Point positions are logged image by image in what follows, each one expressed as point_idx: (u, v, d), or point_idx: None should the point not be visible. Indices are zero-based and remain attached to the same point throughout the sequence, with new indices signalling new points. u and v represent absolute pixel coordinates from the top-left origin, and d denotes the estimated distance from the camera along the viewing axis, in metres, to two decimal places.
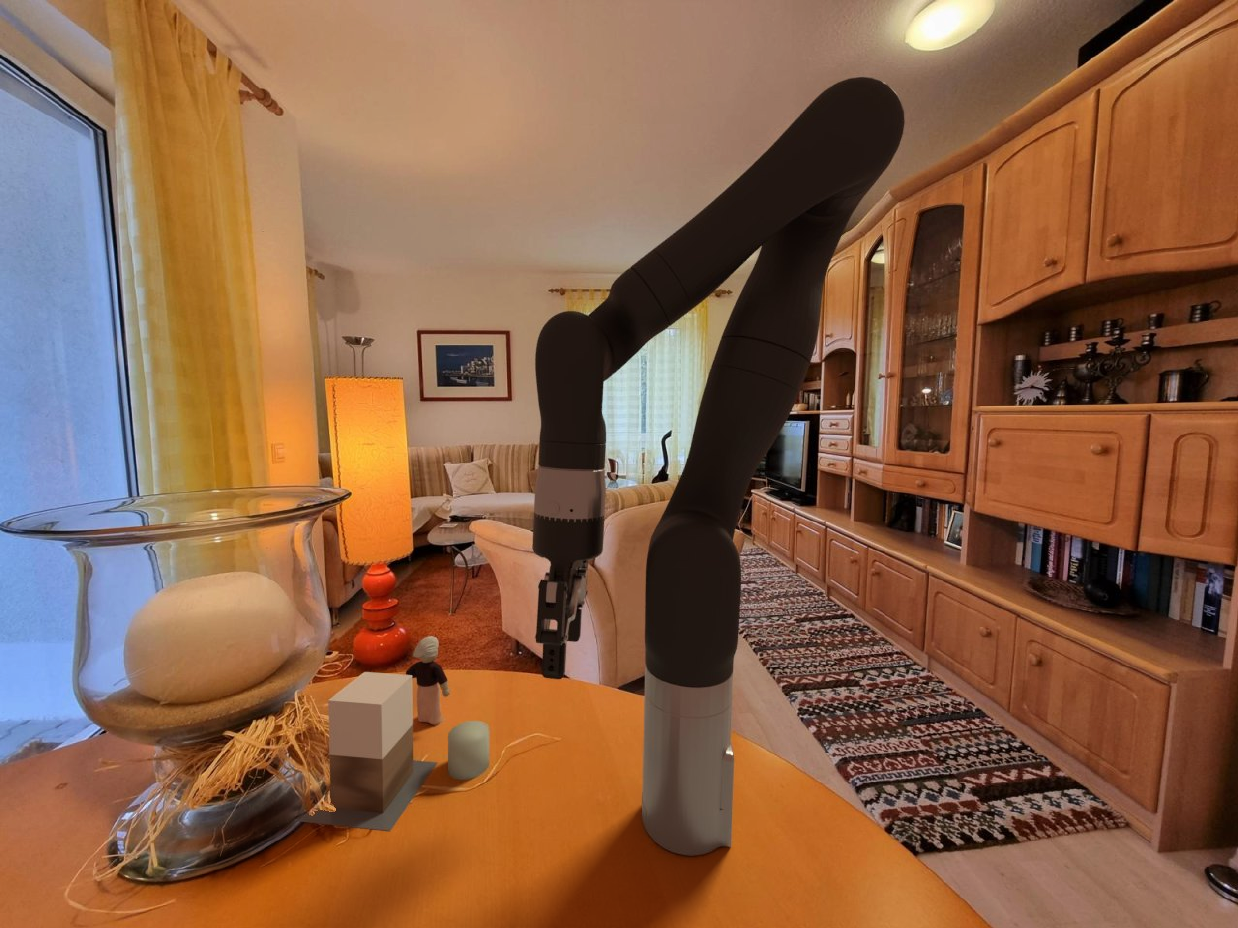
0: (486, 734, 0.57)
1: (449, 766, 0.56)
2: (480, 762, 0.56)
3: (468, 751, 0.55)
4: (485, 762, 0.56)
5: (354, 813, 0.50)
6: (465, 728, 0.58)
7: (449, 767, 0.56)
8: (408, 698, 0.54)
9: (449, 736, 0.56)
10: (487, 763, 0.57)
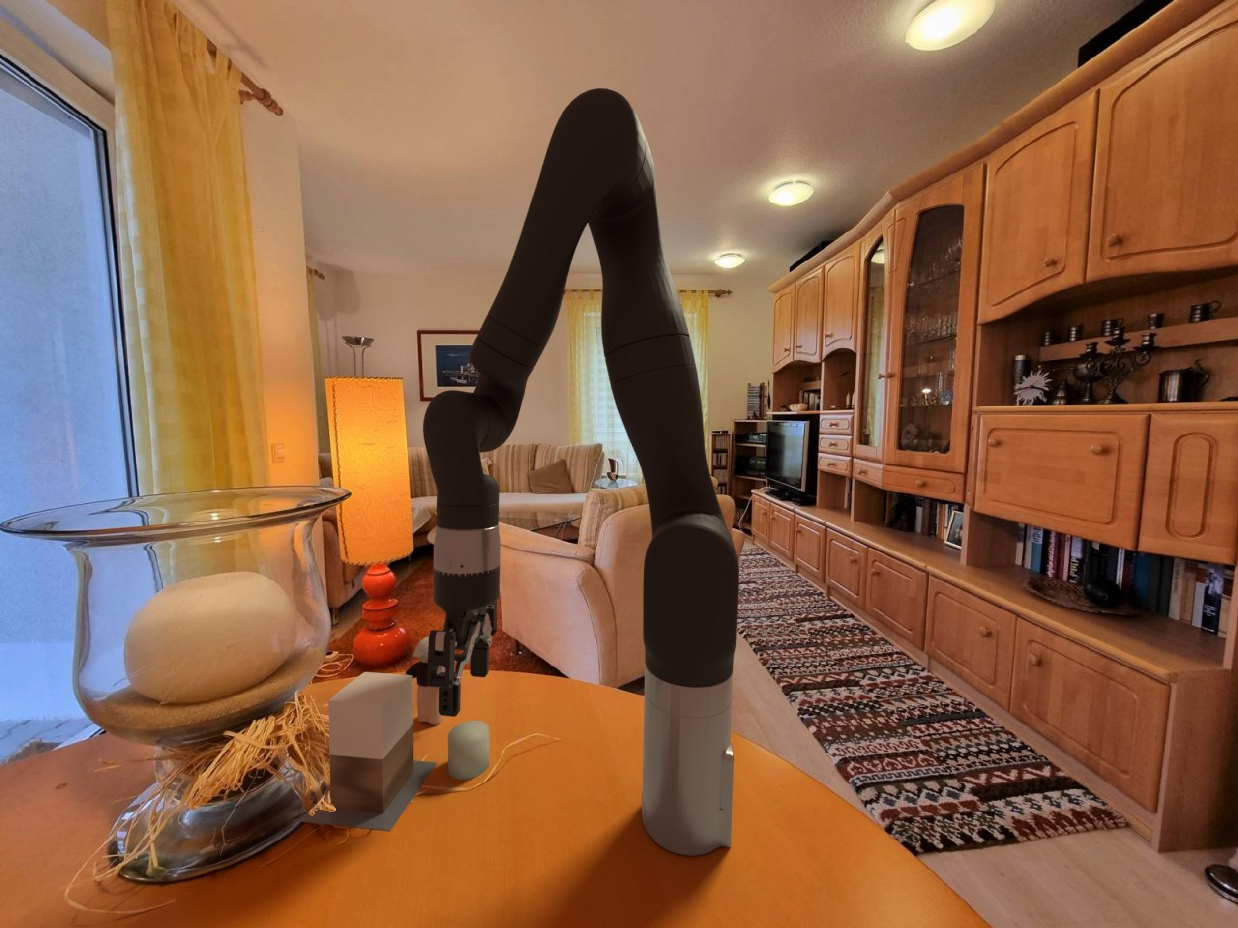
0: (486, 734, 0.57)
1: (449, 766, 0.56)
2: (480, 762, 0.56)
3: (468, 751, 0.55)
4: (485, 762, 0.56)
5: (354, 813, 0.50)
6: (465, 728, 0.58)
7: (449, 767, 0.56)
8: (408, 698, 0.54)
9: (449, 736, 0.56)
10: (487, 763, 0.57)
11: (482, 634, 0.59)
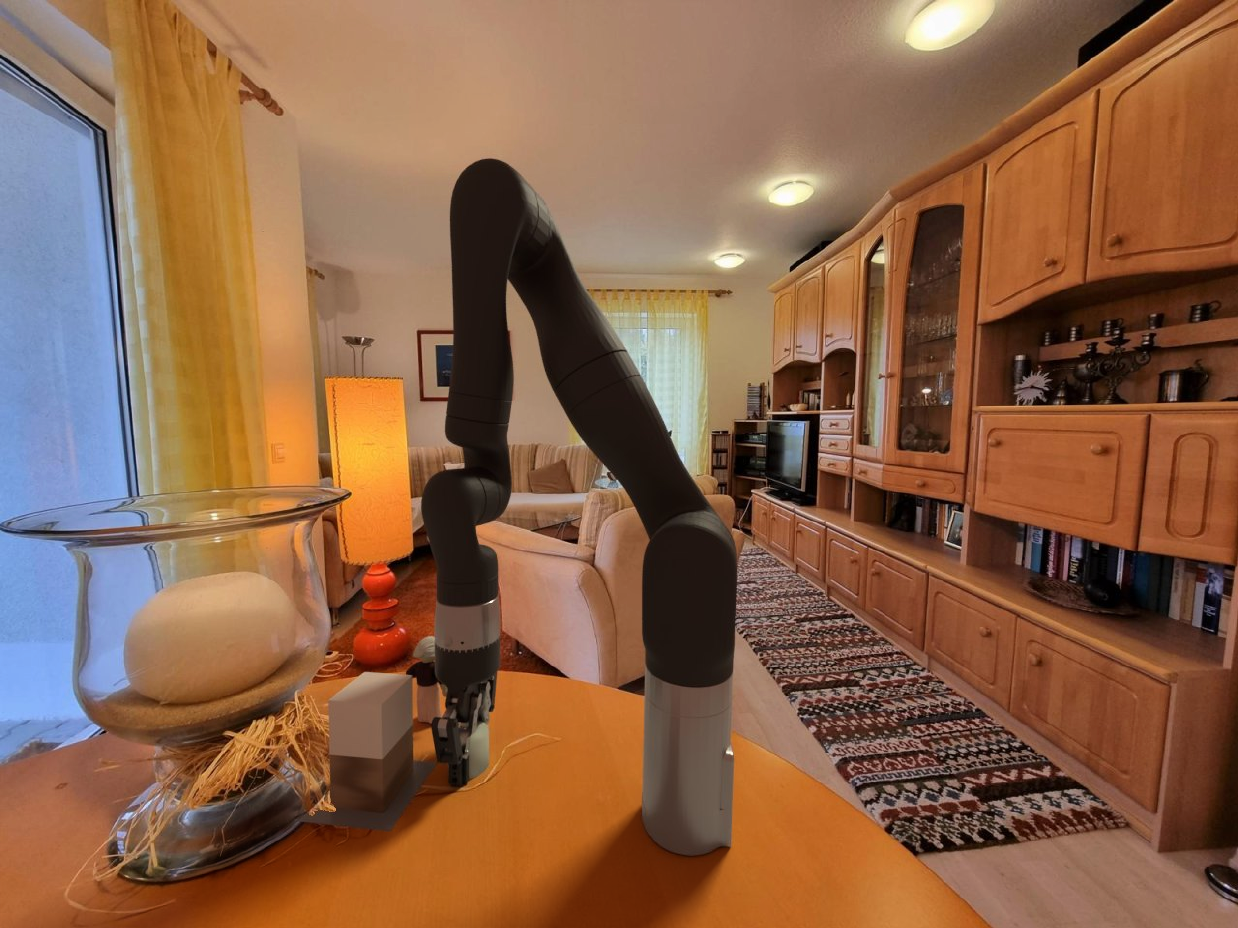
0: (486, 734, 0.57)
1: None
2: (480, 762, 0.56)
3: None
4: (484, 762, 0.56)
5: (354, 813, 0.50)
6: None
7: None
8: (408, 698, 0.54)
9: None
10: (487, 763, 0.57)
11: (481, 708, 0.59)
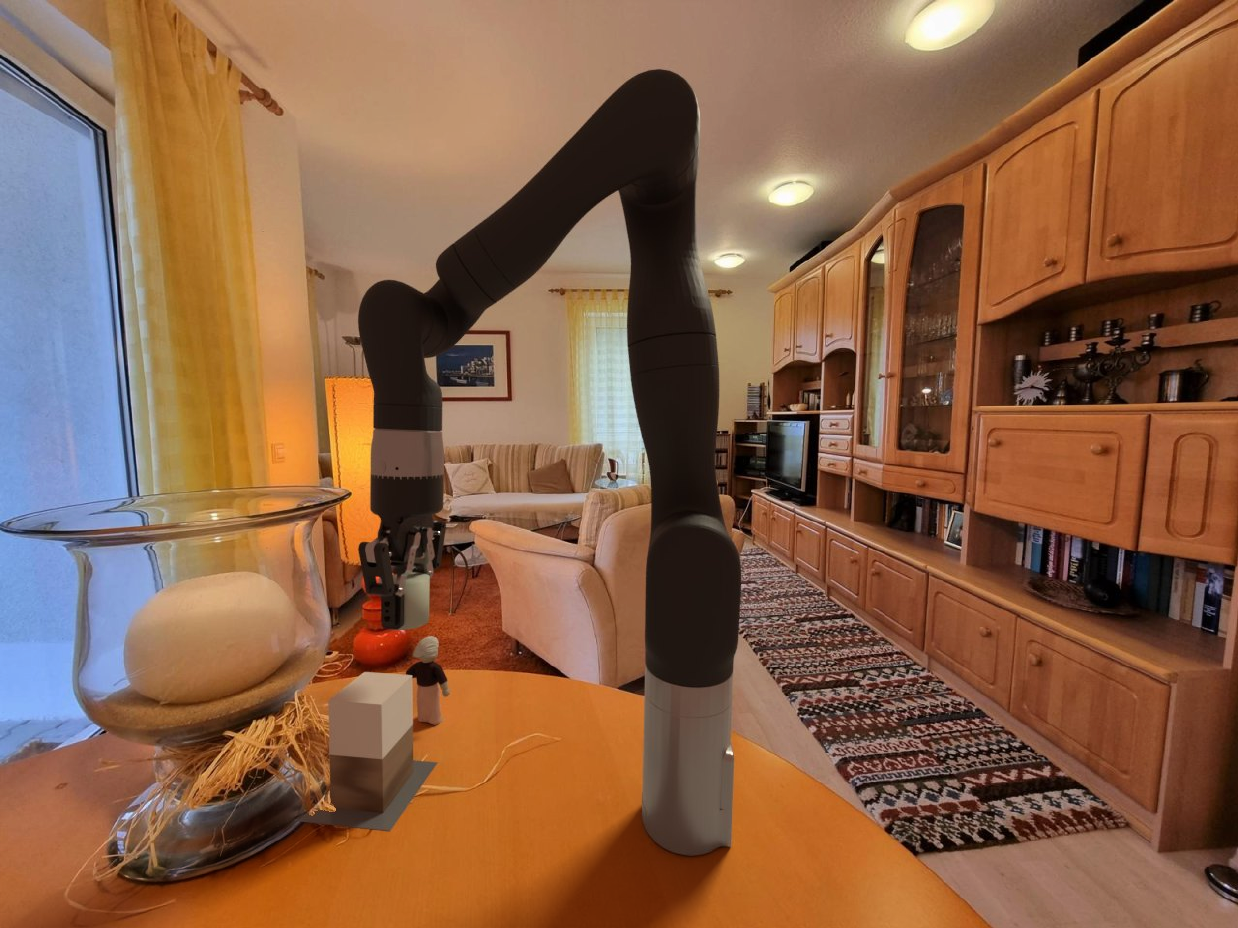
0: (425, 580, 0.53)
1: None
2: (417, 607, 0.52)
3: None
4: (423, 609, 0.53)
5: (354, 813, 0.50)
6: None
7: None
8: (408, 698, 0.54)
9: None
10: (425, 611, 0.53)
11: (423, 557, 0.55)
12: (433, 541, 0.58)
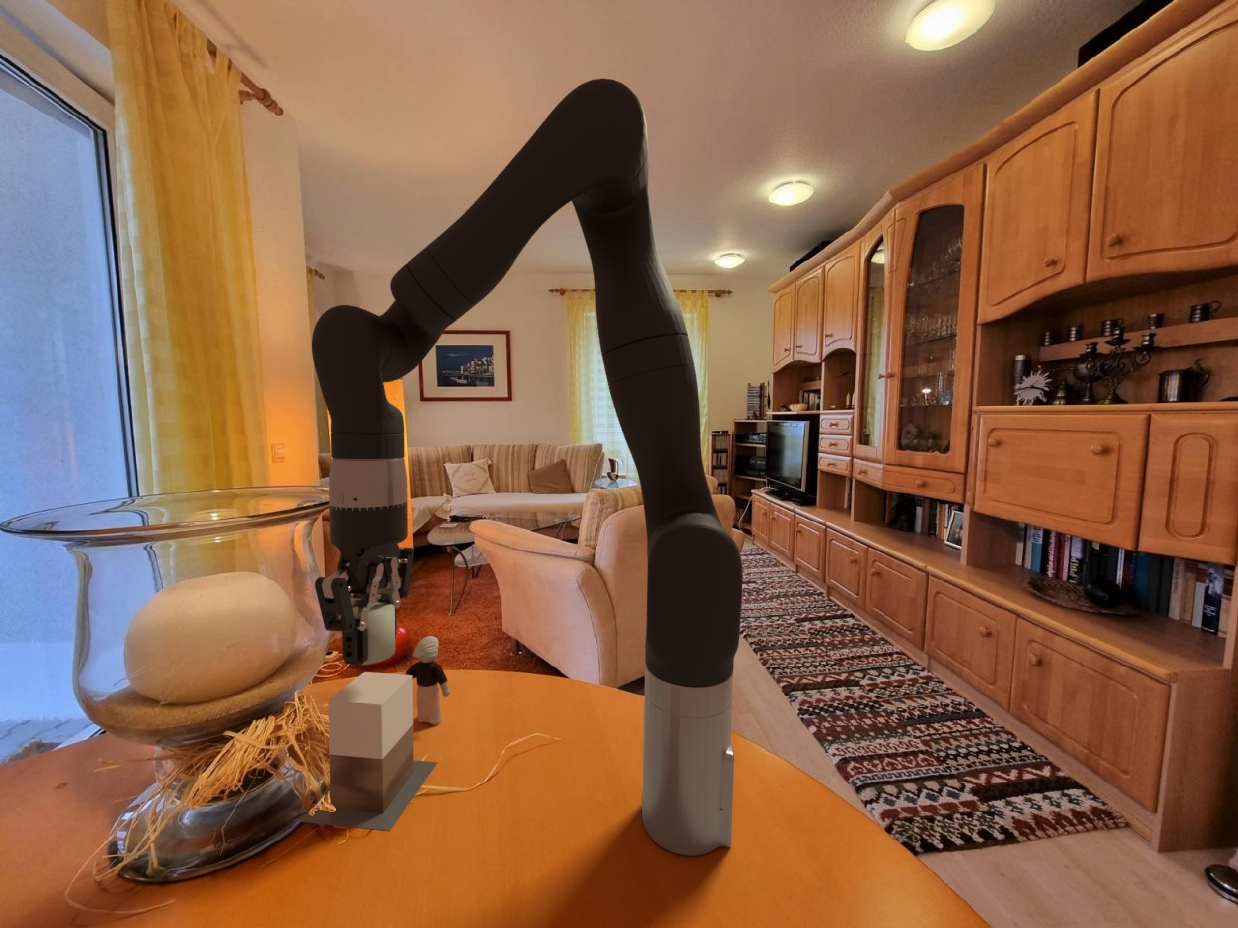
0: (389, 612, 0.51)
1: None
2: (381, 640, 0.50)
3: None
4: (387, 642, 0.51)
5: (354, 813, 0.50)
6: None
7: None
8: (408, 698, 0.54)
9: None
10: (390, 644, 0.52)
11: (388, 587, 0.53)
12: (400, 569, 0.56)
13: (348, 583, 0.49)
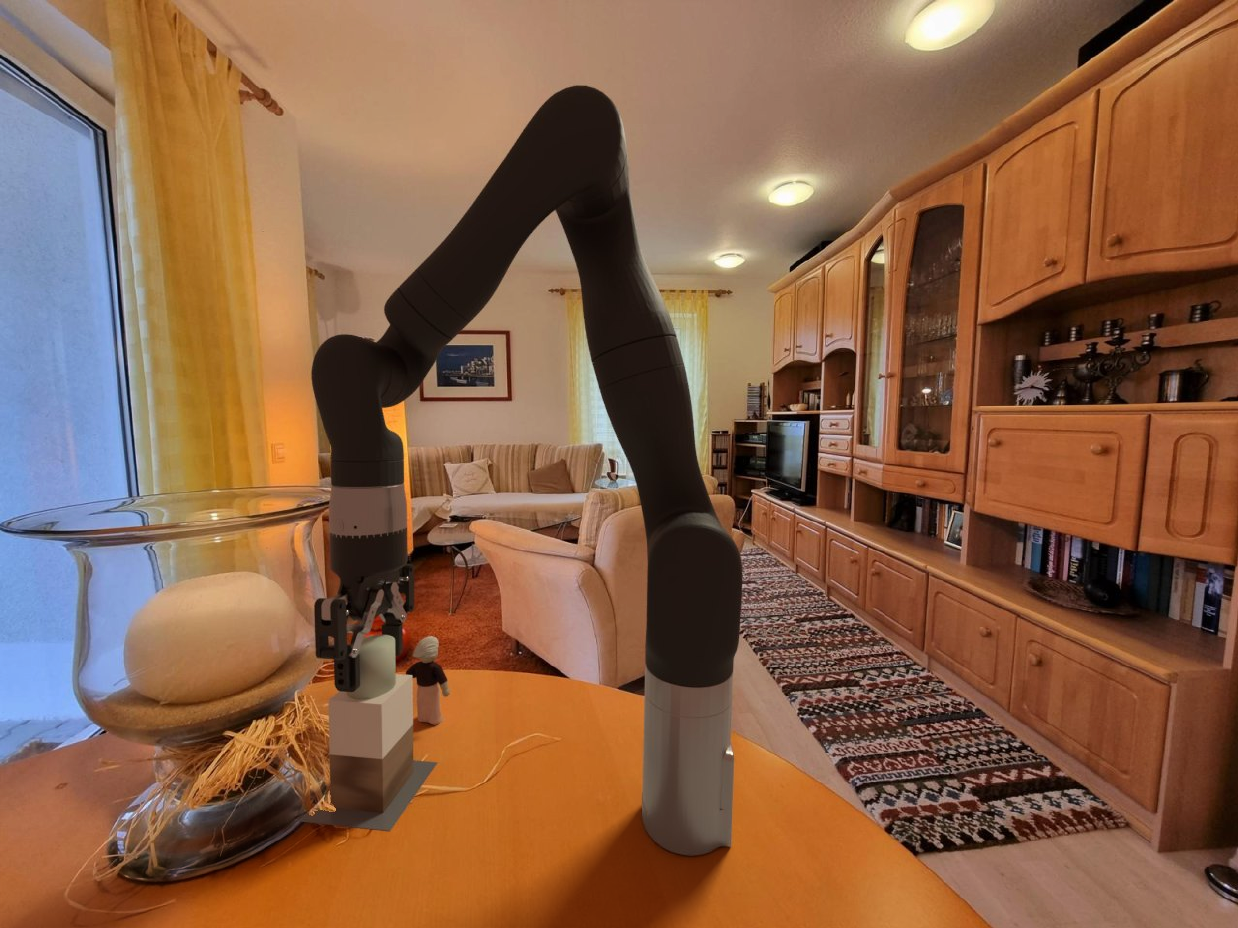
0: (390, 645, 0.52)
1: None
2: (381, 674, 0.51)
3: (366, 660, 0.50)
4: (388, 675, 0.51)
5: (354, 813, 0.50)
6: (369, 640, 0.53)
7: None
8: (408, 698, 0.54)
9: None
10: (391, 677, 0.52)
11: (392, 607, 0.54)
12: (403, 586, 0.57)
13: (347, 606, 0.48)
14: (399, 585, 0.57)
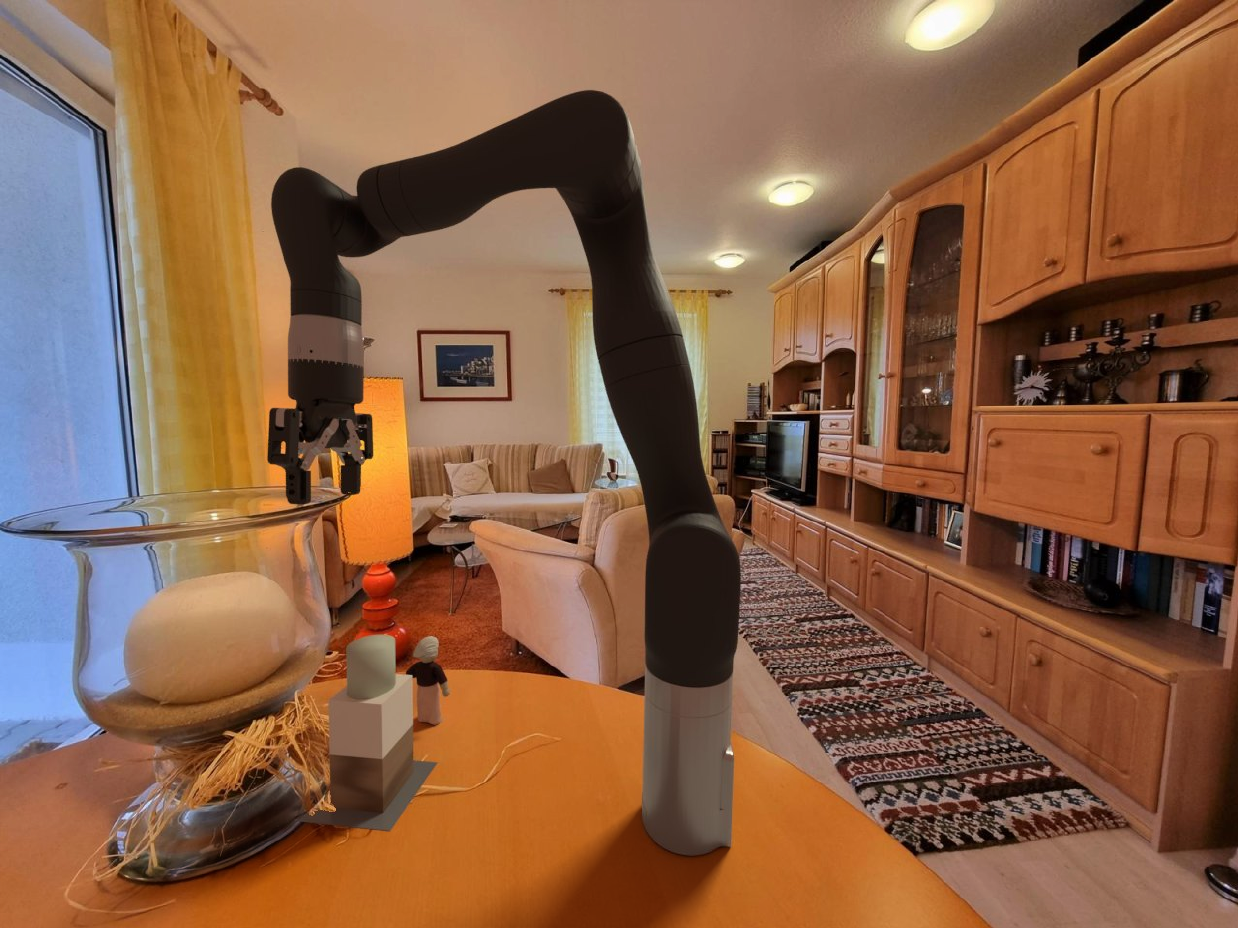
0: (390, 645, 0.52)
1: (347, 678, 0.51)
2: (381, 674, 0.51)
3: (366, 660, 0.50)
4: (388, 675, 0.51)
5: (354, 813, 0.50)
6: (369, 640, 0.53)
7: (347, 679, 0.51)
8: (408, 698, 0.54)
9: (348, 646, 0.51)
10: (391, 677, 0.52)
11: (349, 446, 0.58)
12: (361, 433, 0.61)
13: (302, 427, 0.52)
14: (358, 433, 0.61)
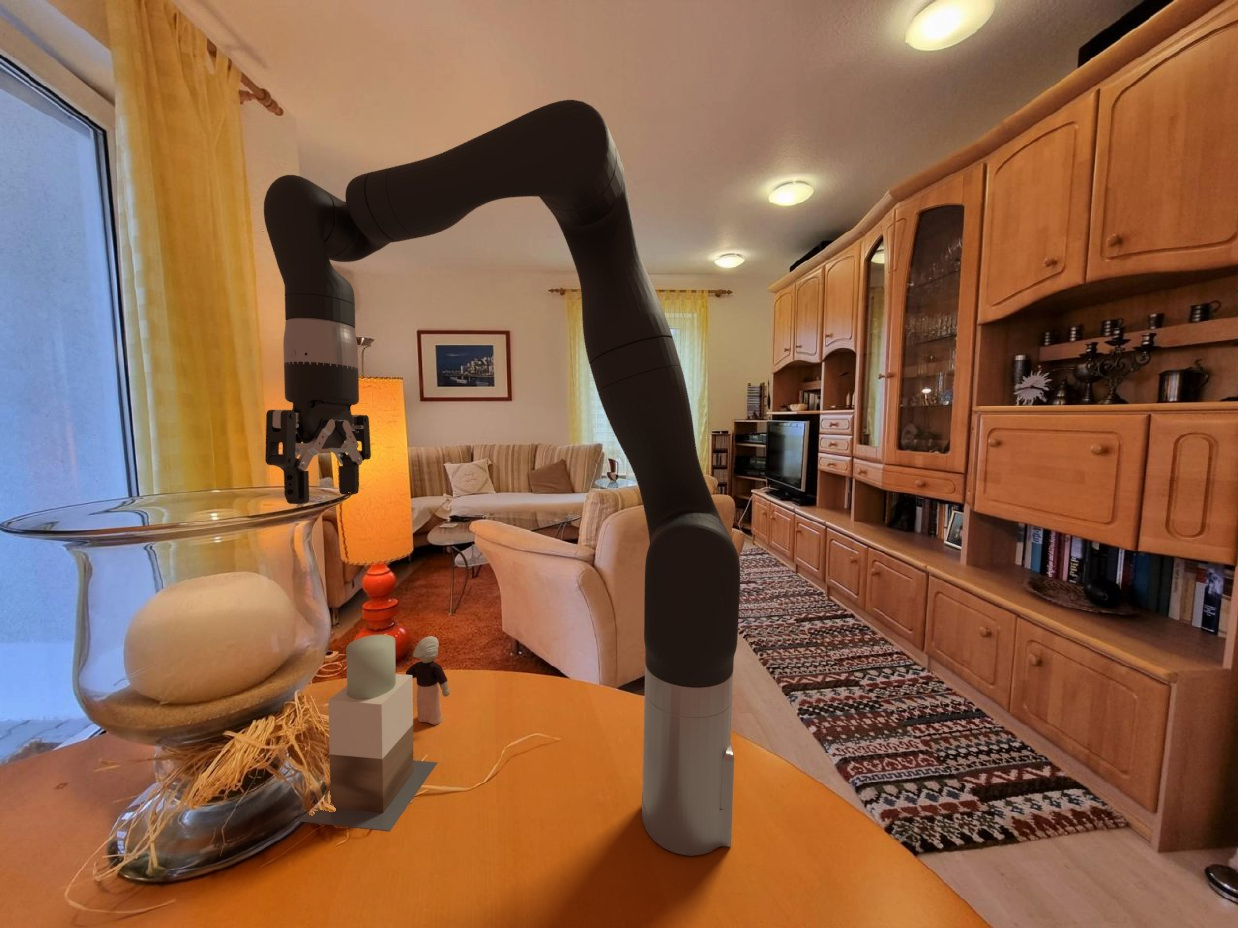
0: (390, 645, 0.52)
1: (347, 678, 0.51)
2: (381, 674, 0.51)
3: (366, 660, 0.50)
4: (388, 675, 0.51)
5: (354, 813, 0.50)
6: (369, 640, 0.53)
7: (347, 679, 0.51)
8: (408, 698, 0.54)
9: (348, 646, 0.51)
10: (391, 677, 0.52)
11: (346, 447, 0.59)
12: (358, 434, 0.62)
13: (299, 428, 0.53)
14: (355, 434, 0.62)
